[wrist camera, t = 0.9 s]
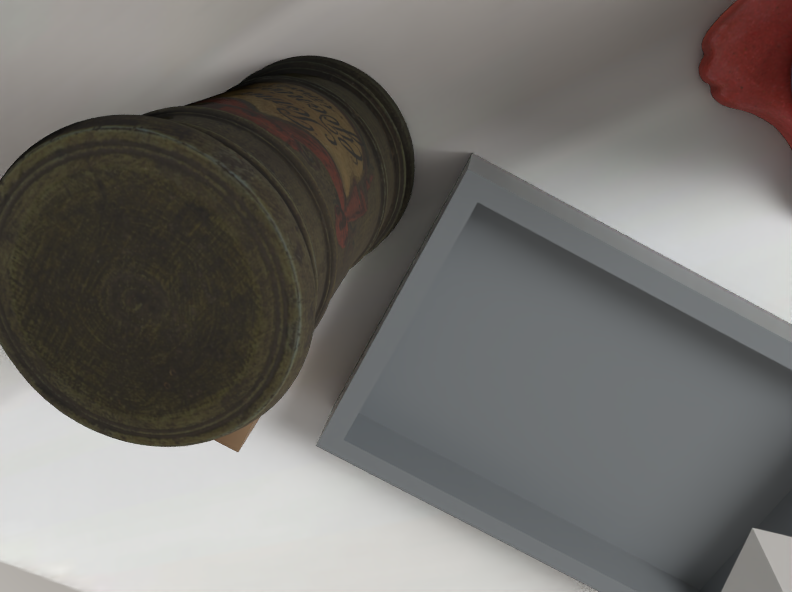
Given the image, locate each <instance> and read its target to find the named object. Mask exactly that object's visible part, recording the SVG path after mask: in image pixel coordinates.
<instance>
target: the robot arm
mask: <svg viewBox="0 0 792 592" xmlns="http://www.w3.org/2000/svg"><path fill="white" fill-rule="evenodd" d="M721 592H792V537H789V536H785V535H781V534H777V533H773V532H768V531H764V530H760V529H756V528H752V530H751V532H750V534H749V536H748V538H747V540H746V542H745V544H744V546H743V548H742V550H741V552H740V554H739V556H738V558H737V560H736V562H735V564H734V566H733V568H732V571H731V573H730V575H729V577H728V579H727V581H726V583H725V585H724V587H723V589H722V591H721Z"/></svg>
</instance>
